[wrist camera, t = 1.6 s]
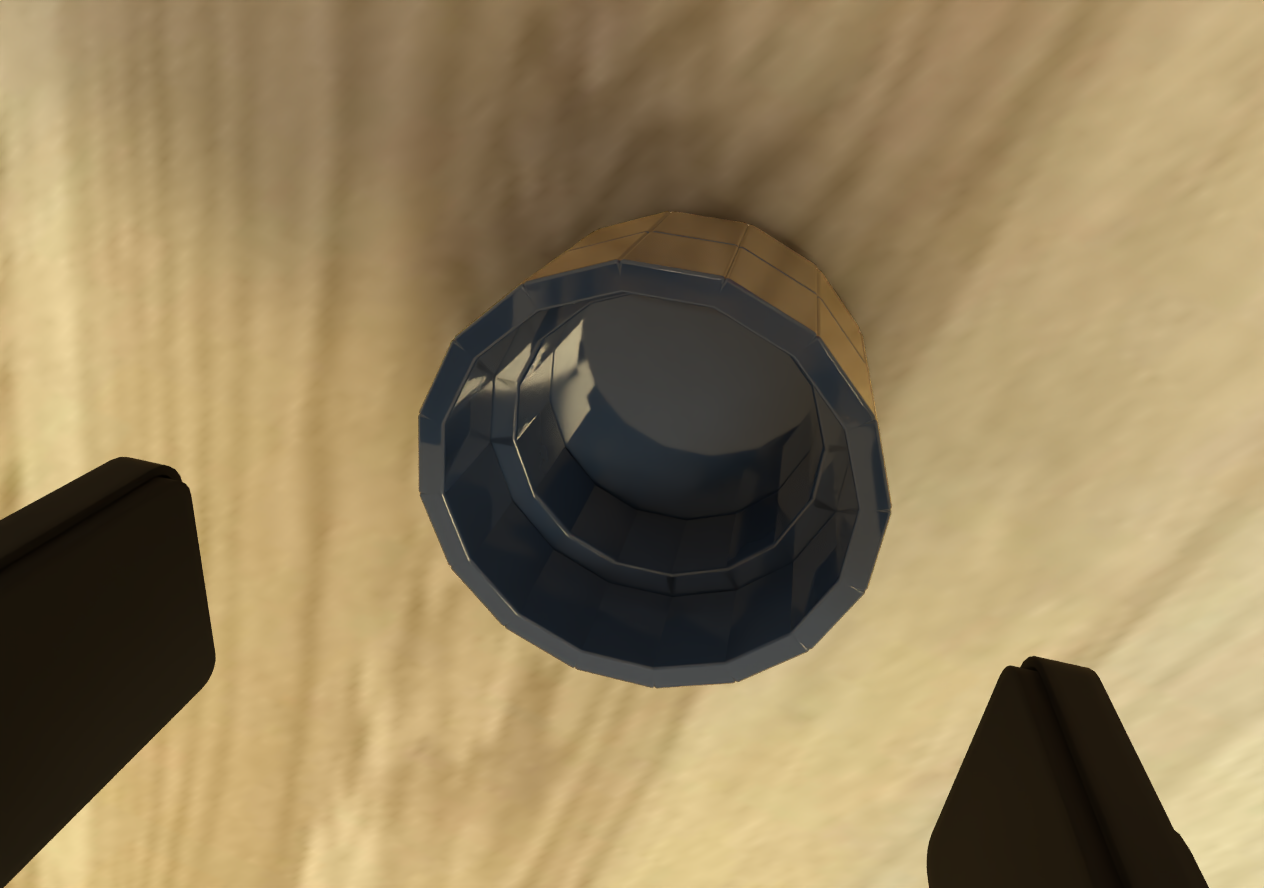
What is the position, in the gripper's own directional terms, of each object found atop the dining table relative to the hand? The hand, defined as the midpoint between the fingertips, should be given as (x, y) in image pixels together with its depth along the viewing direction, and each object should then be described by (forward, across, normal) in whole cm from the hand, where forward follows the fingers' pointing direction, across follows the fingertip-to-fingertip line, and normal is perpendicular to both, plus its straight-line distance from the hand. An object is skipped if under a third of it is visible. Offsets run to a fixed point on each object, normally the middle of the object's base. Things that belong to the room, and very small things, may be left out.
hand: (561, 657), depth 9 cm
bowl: (+8, 0, 0) cm, 8 cm away
